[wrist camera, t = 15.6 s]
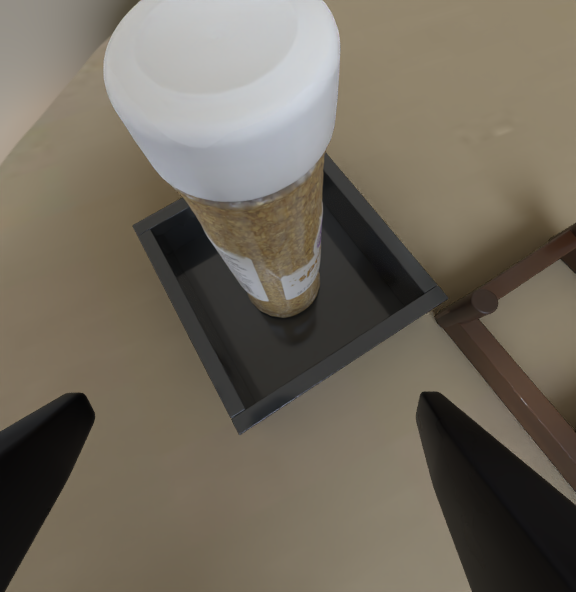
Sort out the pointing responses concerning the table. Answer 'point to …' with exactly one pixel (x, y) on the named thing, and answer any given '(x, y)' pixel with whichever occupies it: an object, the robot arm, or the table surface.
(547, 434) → the cup rack
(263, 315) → the open square storage box
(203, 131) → the sprinkles bottle
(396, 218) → the table surface
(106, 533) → the table surface
